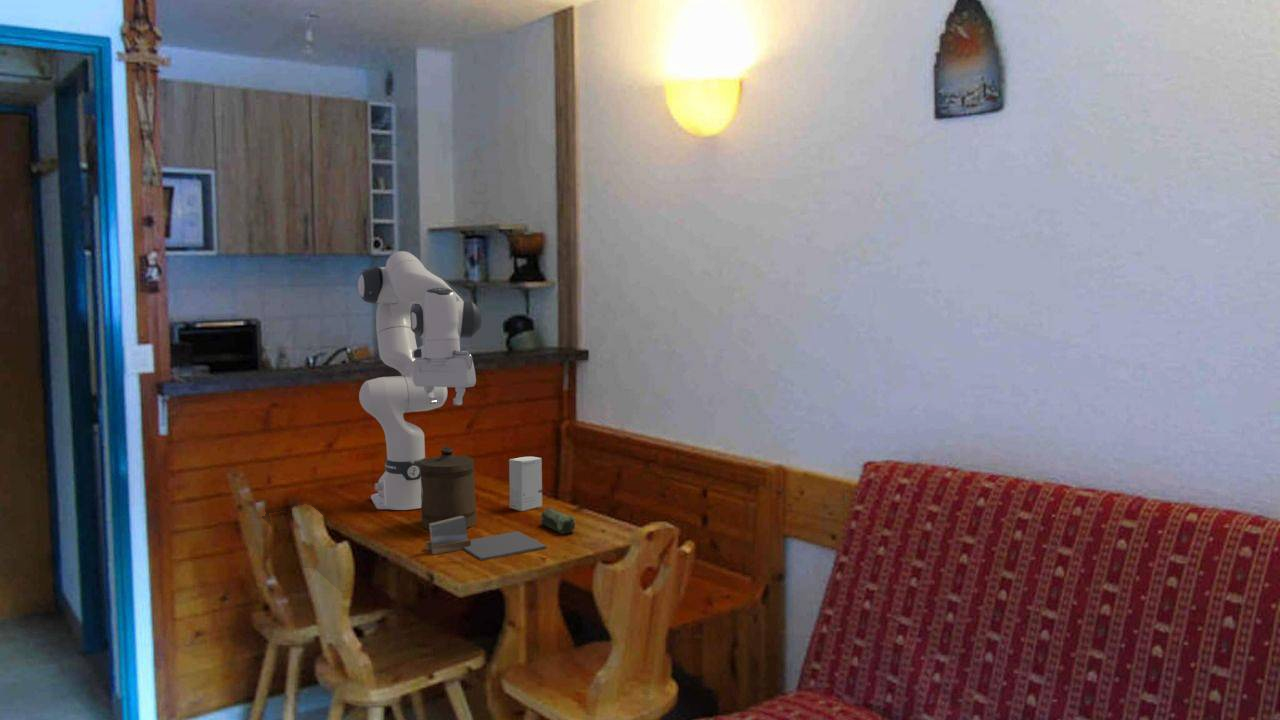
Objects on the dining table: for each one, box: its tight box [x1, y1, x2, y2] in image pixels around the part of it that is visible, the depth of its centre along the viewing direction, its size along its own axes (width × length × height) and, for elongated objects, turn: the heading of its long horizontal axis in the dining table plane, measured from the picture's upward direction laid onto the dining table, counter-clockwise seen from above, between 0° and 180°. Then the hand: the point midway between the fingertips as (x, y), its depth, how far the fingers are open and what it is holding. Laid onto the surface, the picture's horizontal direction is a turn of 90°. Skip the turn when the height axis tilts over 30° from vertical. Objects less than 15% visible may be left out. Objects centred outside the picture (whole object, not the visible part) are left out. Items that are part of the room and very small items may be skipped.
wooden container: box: [420, 445, 477, 531], centre depth 278 cm, size 15×15×22 cm
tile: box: [429, 516, 468, 545], centre depth 256 cm, size 2×9×7 cm, turn 123°
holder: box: [424, 538, 471, 555], centre depth 256 cm, size 6×10×2 cm, turn 123°
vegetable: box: [540, 507, 576, 535], centre depth 274 cm, size 14×5×5 cm, turn 35°
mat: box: [462, 530, 547, 561], centre depth 258 cm, size 16×18×1 cm
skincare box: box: [508, 455, 543, 512], centre depth 296 cm, size 8×6×15 cm
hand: (445, 404), depth 258 cm, fingers open, 8 cm apart
